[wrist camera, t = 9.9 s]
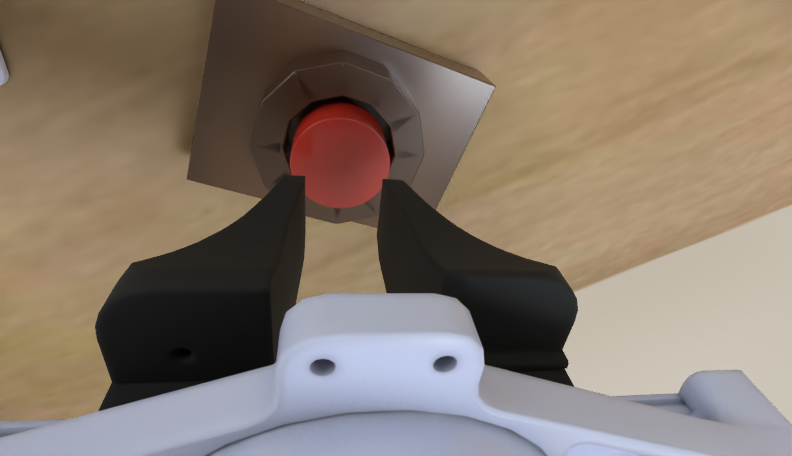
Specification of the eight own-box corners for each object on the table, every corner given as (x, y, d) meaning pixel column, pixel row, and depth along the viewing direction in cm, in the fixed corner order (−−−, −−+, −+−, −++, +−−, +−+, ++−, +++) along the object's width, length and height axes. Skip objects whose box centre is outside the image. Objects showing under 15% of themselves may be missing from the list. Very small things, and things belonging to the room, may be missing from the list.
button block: (198, 158, 21) (174, 200, 18) (230, -27, 17) (207, -16, 14) (414, 216, 24) (428, 261, 21) (481, 72, 20) (511, 99, 17)
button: (283, 173, 18) (279, 194, 17) (306, 88, 16) (304, 103, 15) (367, 196, 19) (370, 218, 18) (398, 118, 17) (405, 136, 16)
